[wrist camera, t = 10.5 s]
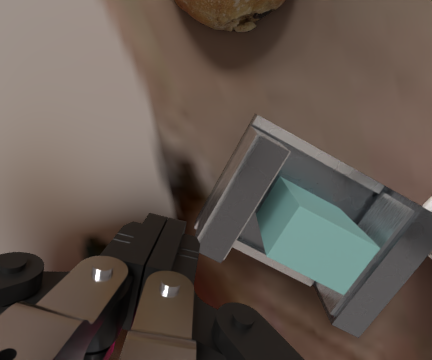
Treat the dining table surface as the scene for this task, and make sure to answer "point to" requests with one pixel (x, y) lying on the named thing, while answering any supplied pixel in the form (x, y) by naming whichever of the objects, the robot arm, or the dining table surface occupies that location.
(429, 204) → the white patterned cylinder
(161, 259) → the robot arm
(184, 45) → the dining table surface
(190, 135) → the dining table surface
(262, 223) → the teal block
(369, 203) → the vise
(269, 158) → the bar
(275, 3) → the bread roll
